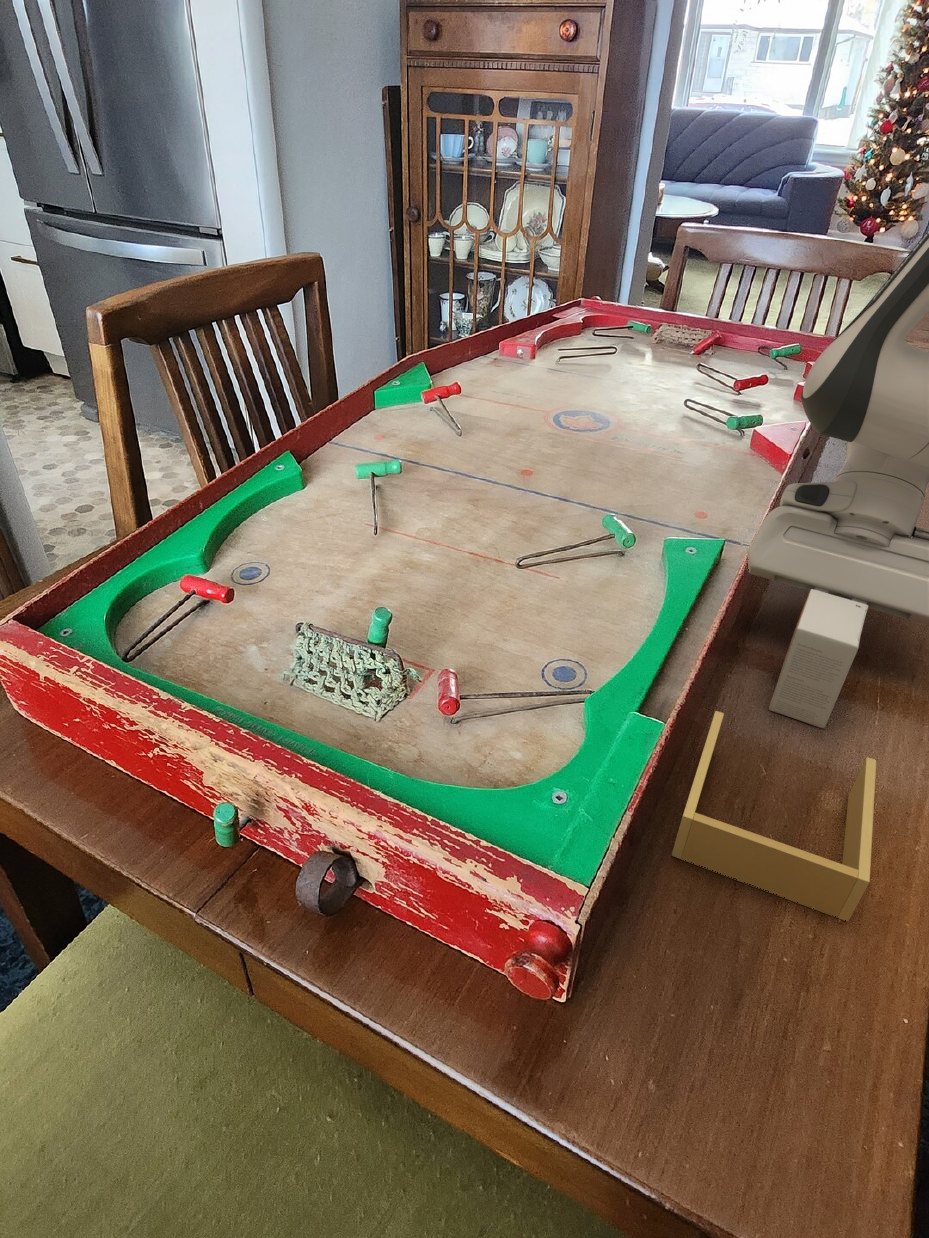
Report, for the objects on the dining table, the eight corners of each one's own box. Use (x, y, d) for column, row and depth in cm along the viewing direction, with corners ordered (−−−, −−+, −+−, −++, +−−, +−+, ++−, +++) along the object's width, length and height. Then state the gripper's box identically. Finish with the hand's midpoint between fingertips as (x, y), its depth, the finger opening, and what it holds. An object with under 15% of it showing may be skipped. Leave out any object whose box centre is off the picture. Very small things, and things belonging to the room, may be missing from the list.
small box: (782, 667, 84) (810, 586, 78) (836, 685, 82) (870, 603, 76) (766, 710, 79) (795, 626, 72) (824, 731, 76) (859, 646, 70)
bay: (704, 749, 74) (715, 710, 71) (857, 799, 69) (876, 759, 66) (671, 856, 64) (682, 815, 61) (848, 922, 59) (869, 882, 56)
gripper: (971, 552, 81) (928, 676, 79) (770, 502, 89) (728, 614, 87) (989, 533, 75) (942, 667, 74) (772, 481, 83) (727, 601, 82)
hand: (824, 637), depth 81 cm, fingers closed, pressing on small box
